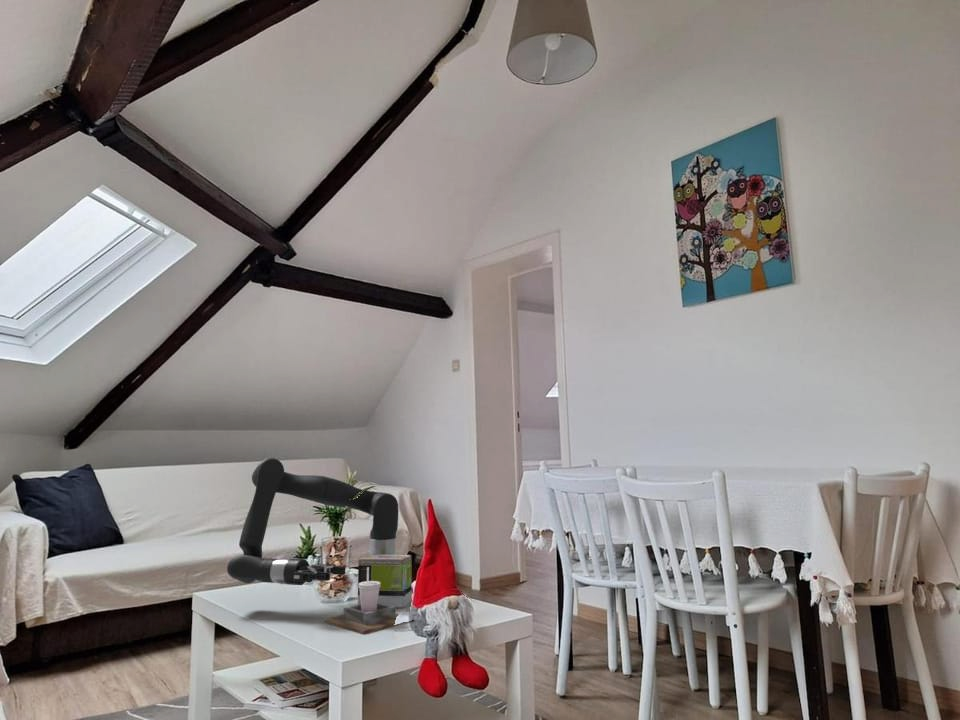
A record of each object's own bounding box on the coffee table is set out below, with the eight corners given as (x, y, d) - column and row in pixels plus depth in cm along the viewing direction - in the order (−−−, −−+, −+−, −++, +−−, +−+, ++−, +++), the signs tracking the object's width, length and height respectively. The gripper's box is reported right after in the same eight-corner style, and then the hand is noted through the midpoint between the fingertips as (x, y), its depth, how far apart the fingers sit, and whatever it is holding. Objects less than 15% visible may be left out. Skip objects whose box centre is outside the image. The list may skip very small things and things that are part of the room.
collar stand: (375, 610, 188) (375, 597, 189) (414, 620, 176) (414, 606, 177) (324, 622, 175) (324, 608, 176) (362, 634, 163) (363, 619, 164)
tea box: (412, 601, 200) (412, 554, 202) (402, 609, 190) (403, 559, 192) (368, 599, 202) (369, 553, 204) (356, 607, 192) (357, 558, 195)
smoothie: (361, 615, 179) (362, 565, 181) (382, 615, 179) (383, 565, 181) (354, 621, 173) (355, 569, 175) (376, 621, 172) (377, 569, 174)
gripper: (275, 562, 180) (324, 564, 175) (303, 554, 193) (349, 556, 188) (274, 589, 178) (324, 592, 174) (303, 579, 192) (349, 581, 187)
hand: (337, 573), depth 181 cm, fingers open, 8 cm apart
